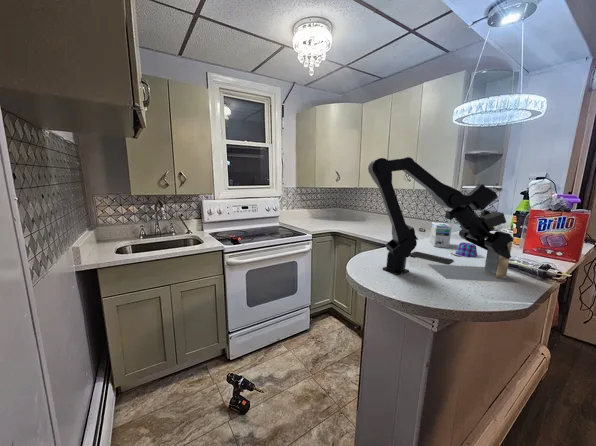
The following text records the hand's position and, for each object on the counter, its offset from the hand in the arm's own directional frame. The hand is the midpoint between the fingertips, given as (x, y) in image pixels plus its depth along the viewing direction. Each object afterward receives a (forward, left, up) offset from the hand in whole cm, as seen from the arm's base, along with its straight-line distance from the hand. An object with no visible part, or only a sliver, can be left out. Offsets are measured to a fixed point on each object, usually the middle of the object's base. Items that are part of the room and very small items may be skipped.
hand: (499, 253), depth 83 cm
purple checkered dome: (+19, +17, -8) cm, 27 cm away
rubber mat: (-6, +6, -8) cm, 11 cm away
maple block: (0, 0, -7) cm, 7 cm away
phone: (-1, +22, -8) cm, 23 cm away
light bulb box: (+26, +32, -8) cm, 42 cm away
